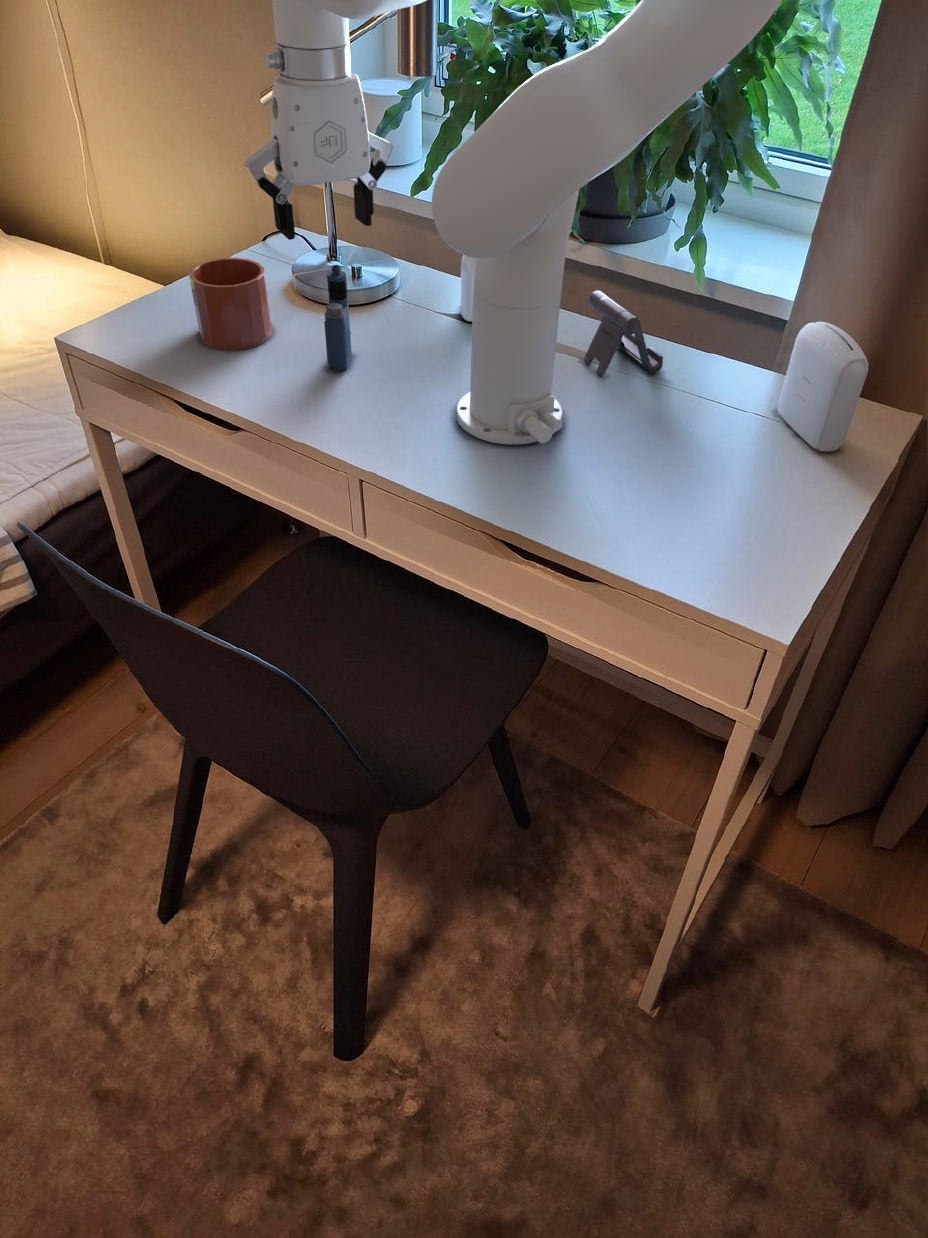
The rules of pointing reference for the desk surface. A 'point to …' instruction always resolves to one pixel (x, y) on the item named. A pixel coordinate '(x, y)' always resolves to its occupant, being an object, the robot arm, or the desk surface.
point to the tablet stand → (618, 336)
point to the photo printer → (823, 385)
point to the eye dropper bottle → (467, 287)
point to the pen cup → (231, 303)
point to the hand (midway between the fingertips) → (326, 228)
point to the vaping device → (337, 321)
